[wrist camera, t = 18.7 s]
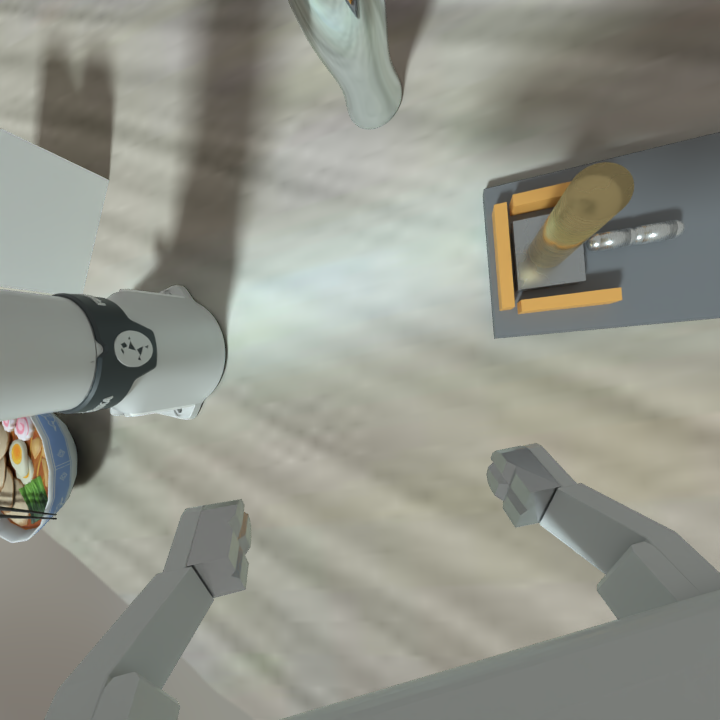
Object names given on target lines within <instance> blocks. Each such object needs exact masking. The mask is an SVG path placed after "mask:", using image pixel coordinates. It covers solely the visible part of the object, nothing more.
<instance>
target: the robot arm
mask: <svg viewBox="0 0 720 720" xmlns="http://www.w3.org/2000/svg"><path fill="white" fill-rule="evenodd" d="M224 364H225V344H224V339H223V335H222V332H221V329H220V327H219V325H218V323H217V321H216V319H215V318H214V317H213V315H212V314H211V313H210V312H209V311H208V310H207V309H206V308H204V307H203V306H201V305H200V304H198V303H197V302H195V301H194V300H193V298H192V297H191V295H190V294H189V292H188V291H187V289H186V288H185V287H183V286H179V285H173V286H171V287H169V288H167V289H165V290H163V291H161V292H159V293H155V292H147V291H139V290H132V289H120V290H119V292H116V293H114V294H112V295H110V296H109V297H108V298H107V299H105V298H100V297H93V296H91V295H85V294H67V293H58V294H55V295H52V296H50V295H42V294H35V293H27V292H19V291H12V290H4V289H0V422H1V421H6V420H11V419H17V418H22V417H28V416H33V415H39V414H46V413H52V412H59V413H63V414H73V413H87V412H94V411H97V410H100V409H107V408H110V413H111V415H124V416H126V417H132V416H141V415H147V414H153V413H159V414H163V415H167V416H171V417H175V418H179V419H183V420H189V419H194V418H195V417H196V416H197V414H198V412H199V409H200V407H201V404H202V402H203V401H204V400H205V399H206V398H207V397H208V396H209V395H210V394H211V393H212V392H213V390H214V389H215V388H216V386H217V384H218V383H219V381H220V378H221V376H222V373H223V369H224ZM491 460H492V461H493V463H492V464H491V465H490V466H489V467H488V470H487V480H488V484H489V486H490V488H491V490H492V492H493V493H494V495H495V496H496V497H498V498H499V499H501V500H503V509H504V511H505V512H506V514H507V515H508V517H509V519H510V520H511V522H512V523H513V525H514V526H515V527H520V526H525V525H530V524H535V523H540V525H541V526H543V527H544V528H545V529H546V530H548V531H549V532H550V533H552V534H553V535H554V536H556V537H557V538H558V539H560V540H561V541H562V542H564V543H565V544H566V545H567V546H569V547H570V548H571V549H573V550H574V551H575V552H577V553H578V554H579V555H581V556H582V557H583V558H585V559H586V560H587V561H589V562H590V563H591V564H592V565H594V566H595V567H596V568H598V569H599V570H600V571H602V572H603V573H604V574H606V575H605V576H604V577H603V579H602V580H601V581H600V582H599V583H598V584H597V591H598V593H599V594H600V595H601V597H602V598H603V600H604V601H605V602H606V604H607V605H608V606H609V608H610V609H611V611H612V612H613V613H614V615H615V616H616V618H617V619H618V620H614V621H611V622H608V623H604V624H601V625H597V626H594V627H591V628H587V629H584V630H581V631H577V632H574V633H570V634H567V635H564V636H560V637H557V638H554V639H550V640H547V641H543V642H540V643H537V644H533V645H530V646H527V647H523V648H520V649H516V650H513V651H510V652H506V653H503V654H499V655H496V656H493V657H489V658H486V659H483V660H479V661H476V662H472V663H469V664H466V665H462V666H459V667H456V668H452V669H449V670H445V671H442V672H439V673H435V674H432V675H429V676H425V677H422V678H418V679H415V680H412V681H408V682H405V683H402V684H398V685H395V686H391V687H388V688H385V689H381V690H378V691H375V692H371V693H368V694H364V695H361V696H358V697H354V698H351V699H348V700H344V701H341V702H337V703H334V704H331V705H327V706H324V707H321V708H317V709H314V710H310V711H307V712H304V713H300V714H297V715H294V716H290V717H287V718H283V719H280V720H720V573H719V572H718V571H717V570H716V569H715V568H714V567H713V566H712V565H711V564H710V563H709V562H707V561H706V560H705V559H704V558H703V557H702V556H701V555H700V554H699V553H698V552H697V551H696V550H695V549H693V548H692V547H691V546H690V545H689V544H688V543H687V542H686V541H685V540H684V539H683V538H682V537H681V536H680V535H678V534H677V533H676V532H675V531H673V530H671V529H669V528H667V527H665V526H663V525H661V524H659V523H657V522H655V521H653V520H651V519H650V518H648V517H646V516H644V515H642V514H640V513H638V512H636V511H634V510H632V509H630V508H628V507H626V506H624V505H623V504H621V503H619V502H617V501H615V500H613V499H611V498H609V497H607V496H605V495H603V494H601V493H599V492H597V491H596V490H594V489H592V488H590V487H588V486H586V485H584V484H582V483H578V484H577V483H576V482H575V481H574V480H573V479H572V478H571V477H570V476H569V475H568V474H567V473H566V471H565V470H564V469H563V468H562V467H561V466H560V465H559V464H558V463H557V462H556V461H555V460H554V459H553V458H552V456H551V455H550V454H549V453H548V452H547V451H546V450H545V449H544V448H543V447H542V446H541V445H539V444H537V443H535V444H529V445H524V446H517V447H512V448H507V449H502V450H498V451H495V452H493V453H492V456H491ZM244 506H245V505H244V503H243V501H242V499H239V500H233V501H227V502H221V503H215V504H210V505H203V506H198V507H192V508H187V509H185V511H184V512H183V514H182V515H181V518H180V521H179V524H178V527H177V530H176V533H175V536H174V540H173V543H172V546H171V549H170V552H169V555H168V558H167V561H166V564H165V567H164V570H163V572H162V573H158V574H156V575H155V576H154V578H153V579H152V580H151V581H150V582H149V583H148V585H147V586H146V587H145V588H144V589H143V590H142V592H141V593H140V594H139V595H138V596H137V597H136V599H135V600H134V601H133V602H132V603H131V604H130V606H129V607H128V608H127V609H126V610H125V611H124V613H123V614H122V615H121V616H120V617H119V619H118V620H117V621H116V622H115V623H114V624H113V625H112V627H111V628H110V629H109V630H108V631H107V632H106V634H105V635H104V636H103V637H102V638H101V639H100V641H99V642H98V643H97V644H96V645H95V647H94V648H93V649H92V650H91V651H90V652H89V654H88V655H87V656H86V657H85V658H84V660H82V662H81V663H80V664H79V665H78V666H77V667H76V669H75V670H74V671H73V672H72V673H71V674H70V676H69V677H68V678H67V679H66V680H65V681H64V683H63V684H62V685H61V686H60V687H59V688H58V690H57V693H56V695H55V697H54V699H53V701H52V703H51V706H50V708H49V710H48V712H47V715H46V717H45V719H44V720H177V719H178V714H179V710H180V705H179V703H178V701H177V700H176V699H175V698H173V697H172V696H170V695H169V694H167V693H166V692H164V691H163V690H162V688H163V686H164V684H165V683H166V681H167V679H168V677H169V676H170V674H171V672H172V671H173V669H174V667H175V666H176V664H177V662H178V660H179V659H180V657H181V655H182V654H183V652H184V650H185V649H186V647H187V645H188V643H189V642H190V640H191V638H192V637H193V635H194V633H195V632H196V630H197V628H198V626H199V625H200V623H201V621H202V620H203V618H204V616H205V615H206V613H207V611H208V609H209V608H210V606H211V604H212V603H213V601H214V599H213V598H215V597H219V596H223V595H227V594H231V593H234V592H238V591H242V590H246V582H247V573H248V565H249V563H248V561H247V559H246V556H245V554H246V553H247V551H248V550H249V548H250V546H251V522H250V518H249V515H248V514H247V513H245V512H244Z"/></svg>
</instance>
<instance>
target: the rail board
mask: <svg viewBox="0 0 720 720" xmlns="http://www.w3.org/2000/svg"><path fill="white" fill-rule="evenodd" d="M602 162H611V163H616V164H619V165H621V166H623V167H625V168H626V169H627V170H628V171H629V172H630V173H631V175H632V177H633V180H634V192H633V195H632V197H631V199H630V201H629V203H628V204H627V205H626V206H625V207H624V208H623V209H622V210H621V211H620V212H619V213H618V214H617V215H615V216H614V217H613V218H612V219H611V220H610V221H608V222H607V223H606V224H605V225H604V226H603V227H602V228H600V229H599V230H598V231H597V232H596V233H595V234H597V233H602V232H608V231H614V230H619V229H625V228H635V227H637V226H642V225H648V224H653V223H659V222H664V221H670V220H680V221H682V222H683V223H684V224H685V230H684V232H683V233H682V234H681V235H680V236H679V237H677V238H674V239H671V240H664V241H658V242H652V243H646V244H640V245H634V244H632V245H630V246H627V247H621V248H615V249H609V250H602V251H596V252H593V251H590V250H588V249H587V247H586V242H587V241H586V242H584V243H583V248H584V261H585V274H586V281H584V282H583V283H579V284H571V285H564V286H556V287H549V288H542V289H534V290H527V291H519V292H516V281H515V268H514V255H513V243H512V230H511V225H512V223H513V221H518V220H523V219H527V218H532V217H537V216H542V215H547V214H550V213H551V212H552V210H553V209H554V207H555V206H556V204H557V203H558V201H559V200H560V198H561V196H562V195H563V193H564V192H565V190H566V189H567V187H568V186H569V184H570V183H571V181H572V180H573V178H574V177H575V176H576V175H577V174H578V173H579V172H580V171H582V170H583V169H585V168H587V167H588V166H591V165H593V164H597V163H602ZM483 204H484V217H485V229H486V242H487V254H488V267H489V279H490V292H491V304H492V317H493V329H494V339H495V338H506V337H517V336H528V335H539V334H550V333H561V332H572V331H583V330H594V329H605V328H616V327H627V326H637V325H648V324H659V323H670V322H681V321H692V320H703V319H714V318H720V132H718V133H714V134H710V135H706V136H702V137H697V138H693V139H689V140H685V141H681V142H677V143H673V144H668V145H664V146H660V147H656V148H652V149H648V150H644V151H640V152H635V153H631V154H627V155H623V156H619V157H615V158H611V159H607V160H602V161H598V162H594V163H590V164H586V165H582V166H578V167H573V168H569V169H565V170H561V171H557V172H553V173H549V174H545V175H540V176H536V177H532V178H528V179H524V180H520V181H516V182H512V183H507V184H503V185H499V186H495V187H491V188H487V189H484V192H483Z"/></svg>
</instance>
